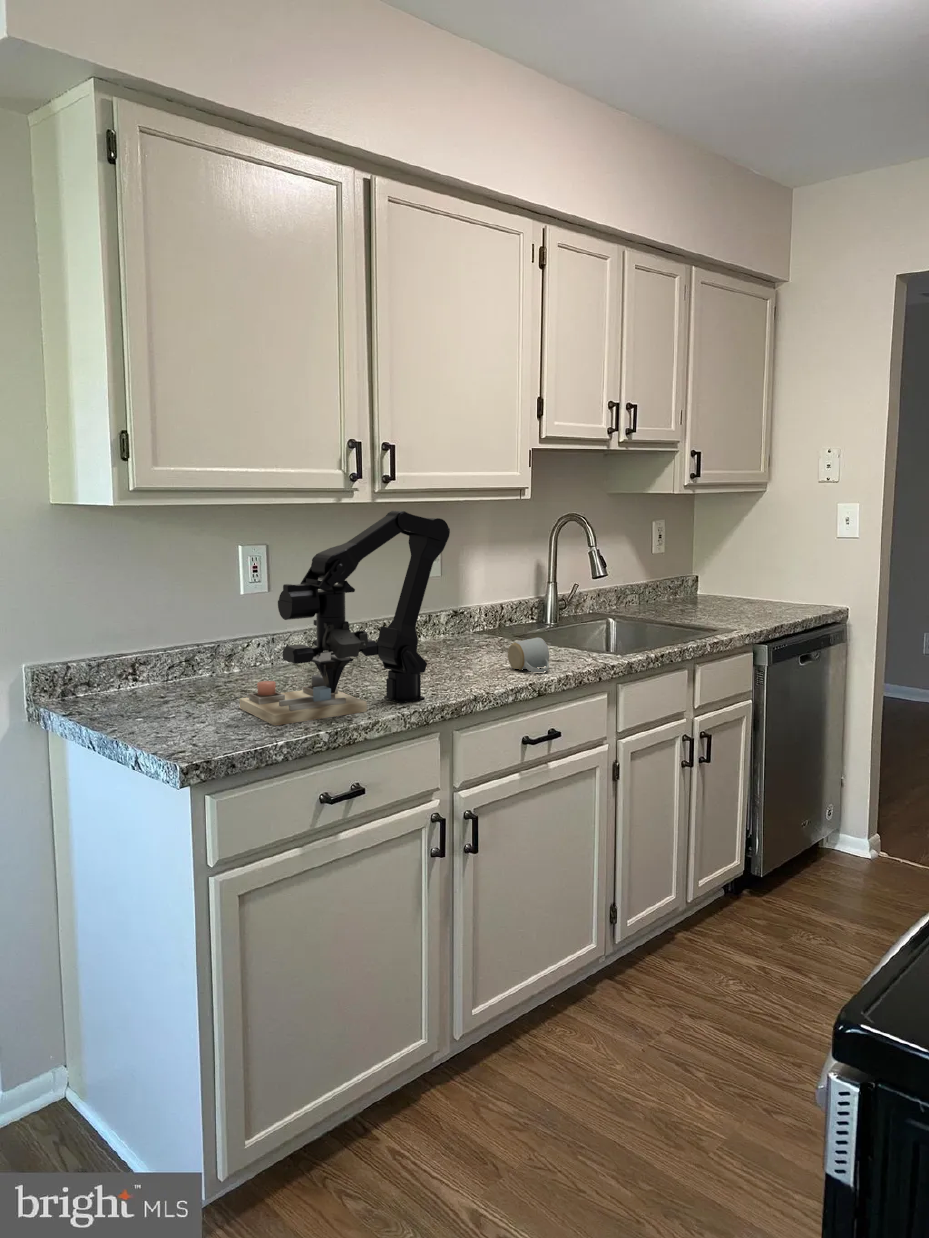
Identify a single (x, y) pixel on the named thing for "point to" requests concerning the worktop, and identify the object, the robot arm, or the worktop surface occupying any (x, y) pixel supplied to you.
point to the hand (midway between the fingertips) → (331, 692)
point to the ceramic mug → (529, 655)
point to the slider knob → (321, 693)
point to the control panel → (300, 706)
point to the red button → (266, 688)
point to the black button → (317, 680)
